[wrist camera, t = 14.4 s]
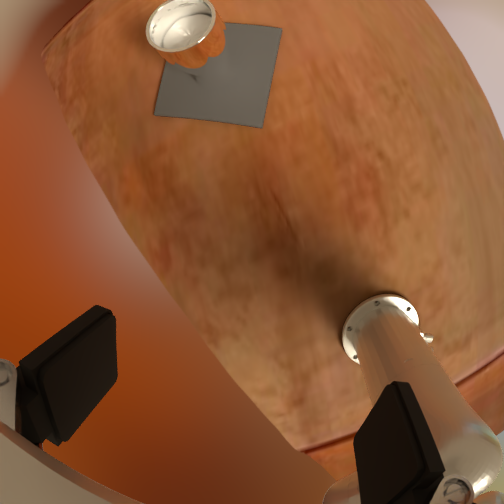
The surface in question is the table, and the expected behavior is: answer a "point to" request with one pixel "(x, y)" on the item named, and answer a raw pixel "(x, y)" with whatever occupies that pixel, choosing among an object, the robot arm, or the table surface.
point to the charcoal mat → (233, 95)
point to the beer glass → (193, 41)
